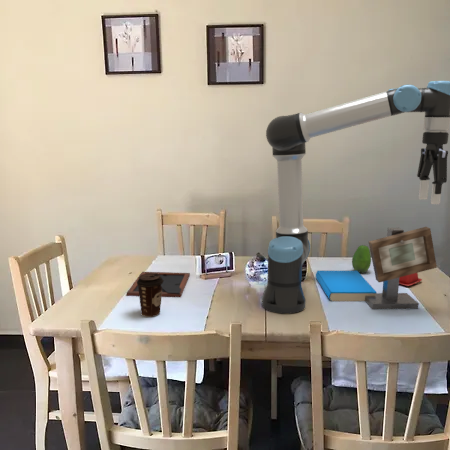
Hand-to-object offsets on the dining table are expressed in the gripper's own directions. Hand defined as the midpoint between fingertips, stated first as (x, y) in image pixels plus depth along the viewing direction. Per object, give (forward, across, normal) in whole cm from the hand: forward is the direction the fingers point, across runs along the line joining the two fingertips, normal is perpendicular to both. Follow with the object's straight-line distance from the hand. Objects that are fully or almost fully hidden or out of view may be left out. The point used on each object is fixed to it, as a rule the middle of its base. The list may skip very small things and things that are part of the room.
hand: (428, 201), depth 157 cm
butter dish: (+38, +27, -6) cm, 47 cm away
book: (+38, +19, +21) cm, 47 cm away
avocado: (+38, +40, +8) cm, 55 cm away
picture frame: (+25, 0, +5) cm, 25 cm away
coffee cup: (+38, -3, +92) cm, 99 cm away
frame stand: (+37, +4, +8) cm, 39 cm away
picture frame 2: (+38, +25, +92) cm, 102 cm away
